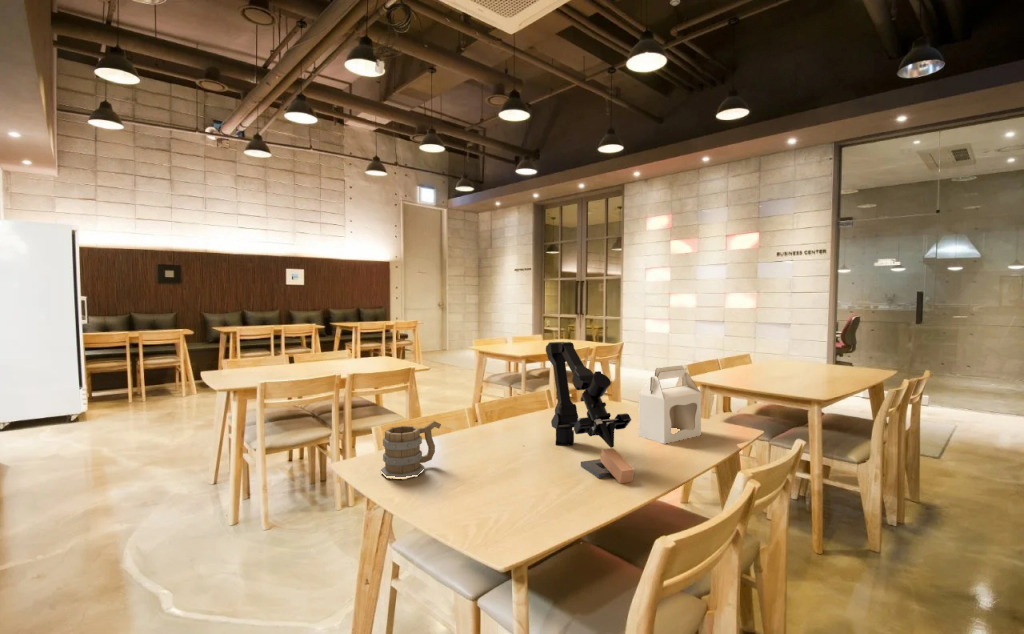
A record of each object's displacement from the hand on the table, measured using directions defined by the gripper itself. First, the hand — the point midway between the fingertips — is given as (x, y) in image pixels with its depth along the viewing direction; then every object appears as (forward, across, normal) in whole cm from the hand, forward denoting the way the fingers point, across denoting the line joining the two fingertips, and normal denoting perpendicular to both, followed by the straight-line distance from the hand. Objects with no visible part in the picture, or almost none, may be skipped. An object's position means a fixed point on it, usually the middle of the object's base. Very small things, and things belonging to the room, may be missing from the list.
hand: (612, 446), depth 150 cm
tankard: (-12, +58, -24) cm, 64 cm away
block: (0, 0, -5) cm, 5 cm away
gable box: (-14, -44, -26) cm, 53 cm away
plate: (+3, 0, -9) cm, 9 cm away
